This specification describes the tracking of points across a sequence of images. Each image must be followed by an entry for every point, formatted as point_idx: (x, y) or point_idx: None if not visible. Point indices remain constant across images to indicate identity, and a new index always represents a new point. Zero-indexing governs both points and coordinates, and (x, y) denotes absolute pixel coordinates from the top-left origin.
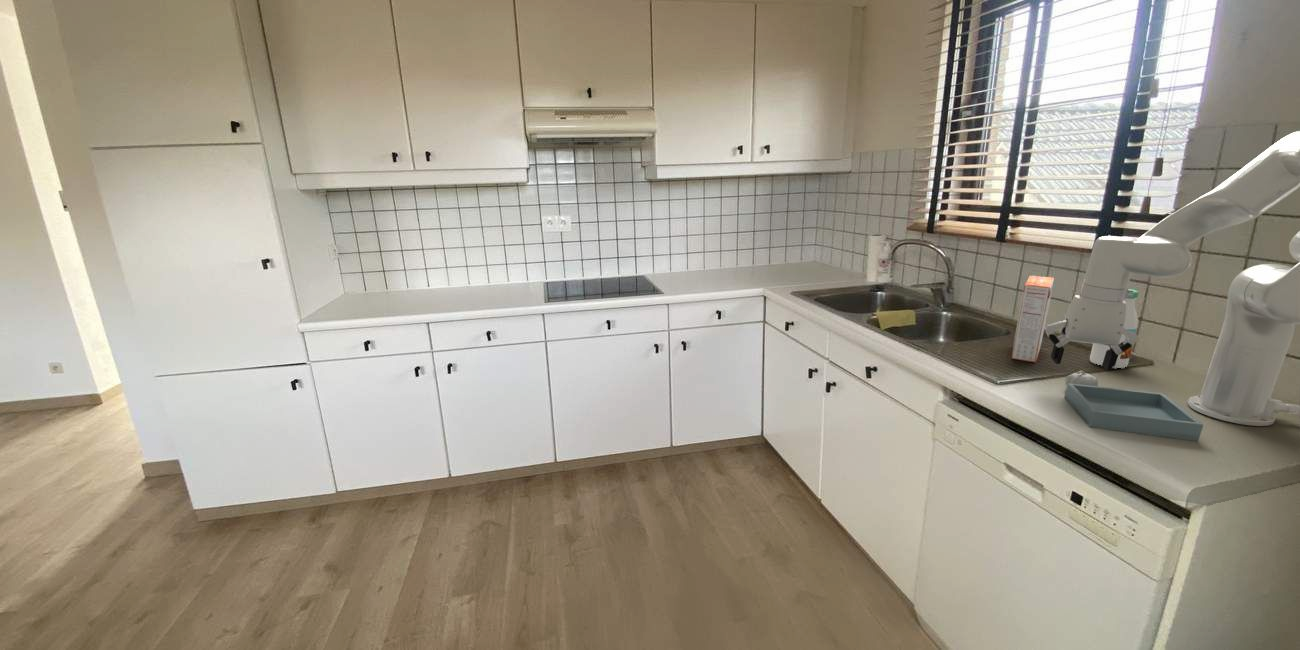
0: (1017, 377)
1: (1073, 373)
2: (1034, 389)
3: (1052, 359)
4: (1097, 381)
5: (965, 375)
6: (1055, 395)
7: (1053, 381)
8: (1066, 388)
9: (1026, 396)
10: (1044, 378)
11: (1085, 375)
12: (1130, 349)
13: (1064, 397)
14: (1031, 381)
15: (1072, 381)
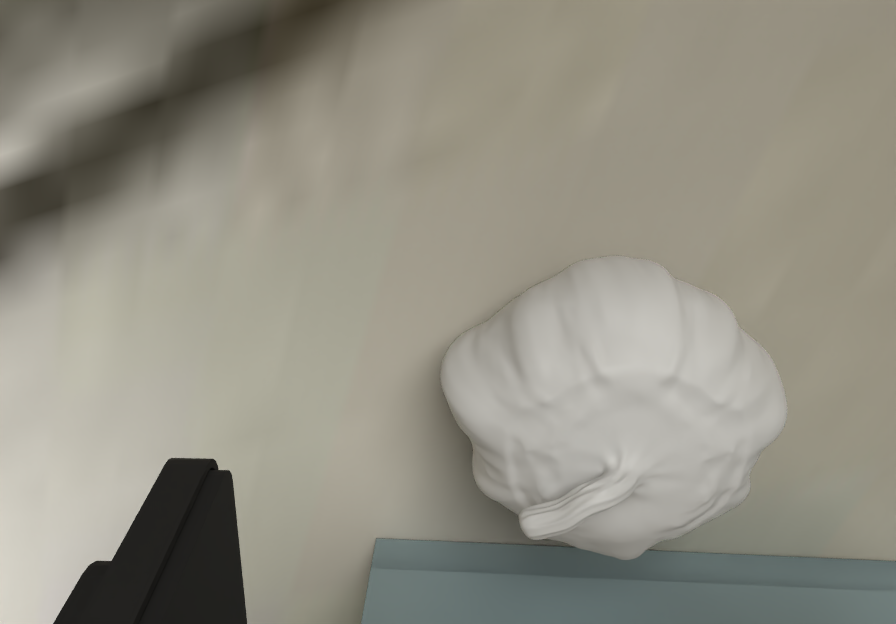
0: (3, 79)
1: (519, 407)
2: (149, 415)
3: (176, 458)
4: (744, 499)
5: None
6: (312, 510)
7: (408, 97)
8: (363, 612)
9: (61, 591)
10: (325, 8)
11: (620, 515)
12: None
13: (376, 544)
14: (150, 180)
15: (474, 478)
